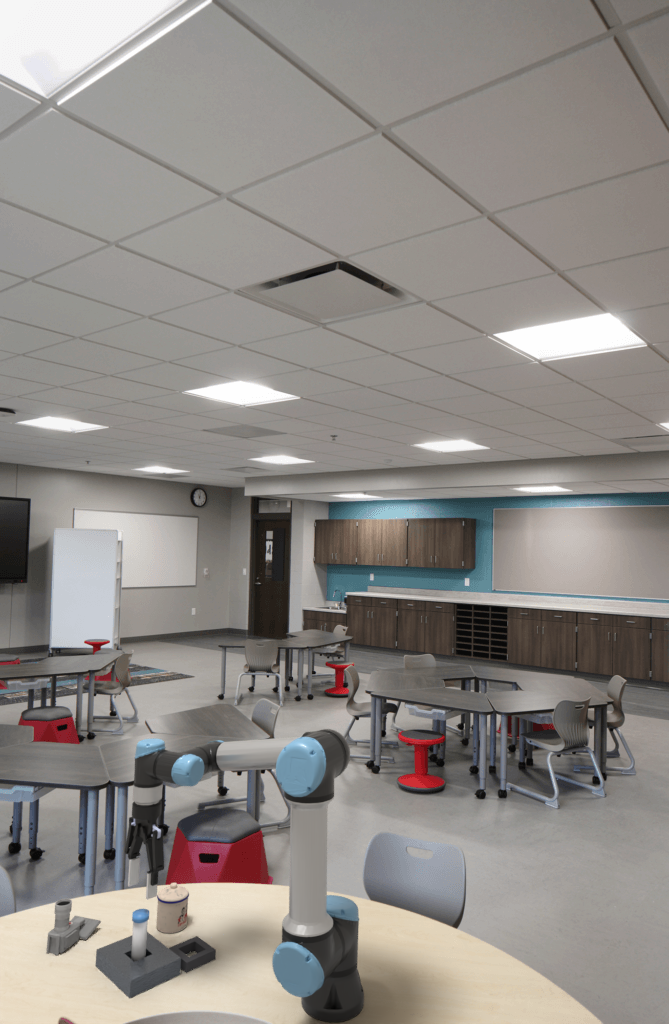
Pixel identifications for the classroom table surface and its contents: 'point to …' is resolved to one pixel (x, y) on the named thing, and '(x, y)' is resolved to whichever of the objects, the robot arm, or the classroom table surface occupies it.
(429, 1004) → the classroom table surface
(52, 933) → the camera
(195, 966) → the frame
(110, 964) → the port panel
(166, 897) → the teacup with lid
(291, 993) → the robot arm
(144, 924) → the plug
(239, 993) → the classroom table surface
